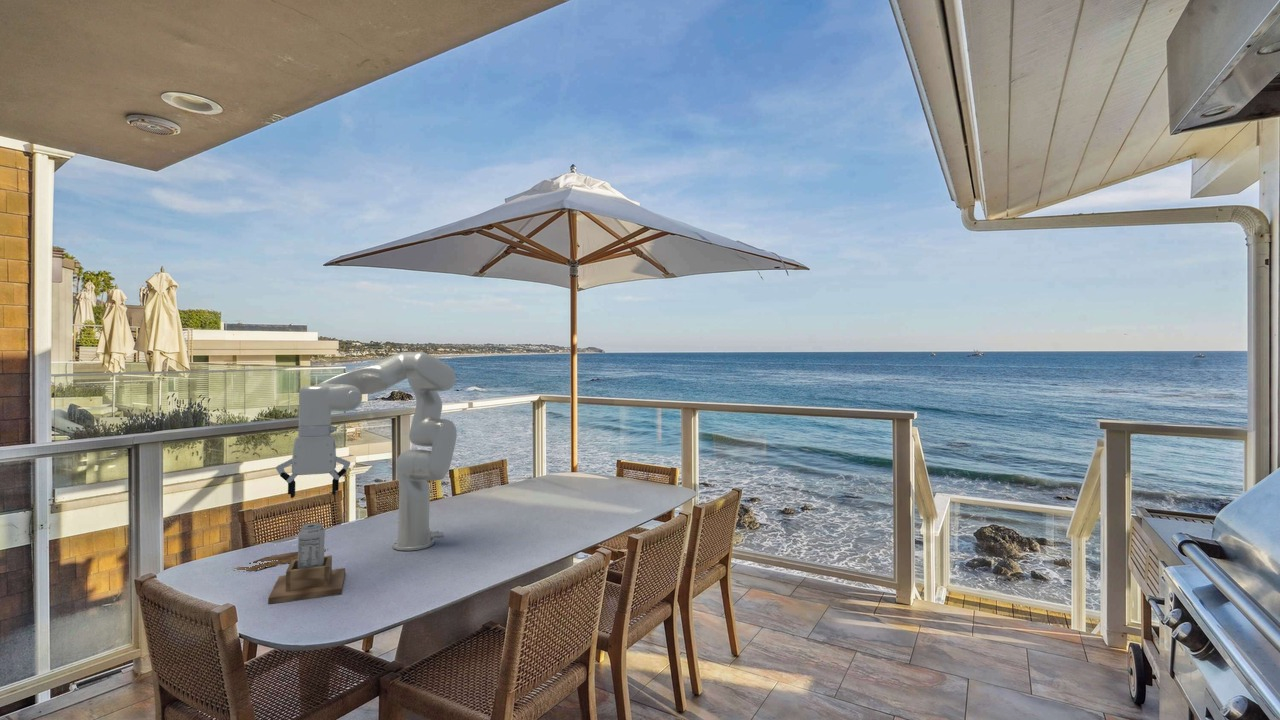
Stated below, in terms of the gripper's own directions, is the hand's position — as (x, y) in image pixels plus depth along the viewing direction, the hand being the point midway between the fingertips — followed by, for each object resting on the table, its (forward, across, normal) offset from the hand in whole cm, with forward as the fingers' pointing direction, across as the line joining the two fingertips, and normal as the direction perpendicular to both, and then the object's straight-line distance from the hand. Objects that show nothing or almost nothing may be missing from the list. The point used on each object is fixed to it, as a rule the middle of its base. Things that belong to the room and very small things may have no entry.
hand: (313, 495), depth 150 cm
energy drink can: (+23, 0, +1) cm, 23 cm away
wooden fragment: (+25, +10, -27) cm, 38 cm away
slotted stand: (+24, 0, +1) cm, 24 cm away
